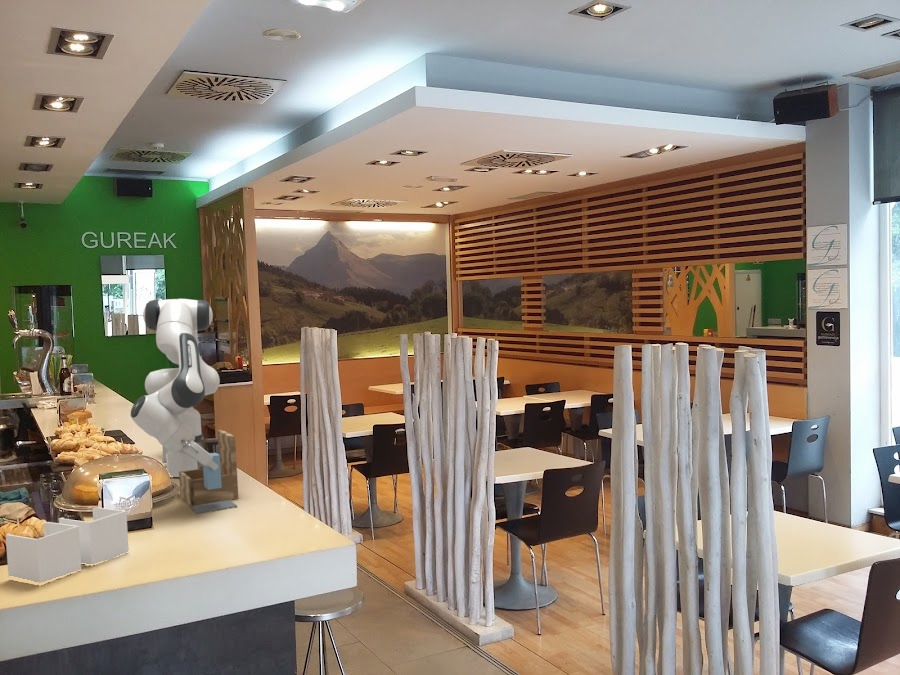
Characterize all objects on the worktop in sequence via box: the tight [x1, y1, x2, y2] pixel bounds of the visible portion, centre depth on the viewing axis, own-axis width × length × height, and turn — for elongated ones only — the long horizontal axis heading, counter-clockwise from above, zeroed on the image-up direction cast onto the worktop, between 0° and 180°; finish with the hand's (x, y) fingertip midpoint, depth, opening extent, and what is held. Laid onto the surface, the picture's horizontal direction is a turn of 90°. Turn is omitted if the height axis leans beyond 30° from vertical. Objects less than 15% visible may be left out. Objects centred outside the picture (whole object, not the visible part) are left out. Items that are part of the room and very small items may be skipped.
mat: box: [190, 500, 238, 515], centre depth 247 cm, size 9×12×1 cm
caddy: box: [178, 429, 239, 507], centre depth 259 cm, size 16×14×20 cm
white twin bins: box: [5, 506, 130, 583], centre depth 197 cm, size 25×11×11 cm, turn 153°
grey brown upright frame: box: [196, 437, 219, 469], centre depth 274 cm, size 9×6×16 cm
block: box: [203, 453, 222, 490], centre depth 247 cm, size 5×4×10 cm
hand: (213, 466), depth 247 cm, fingers closed on block, 5 cm apart
